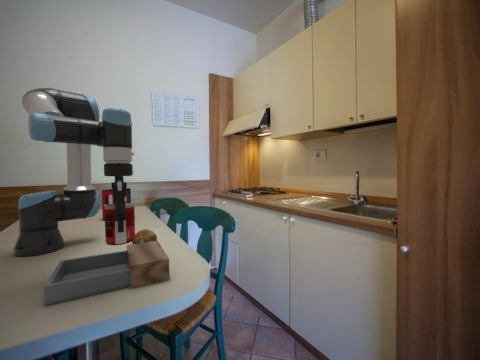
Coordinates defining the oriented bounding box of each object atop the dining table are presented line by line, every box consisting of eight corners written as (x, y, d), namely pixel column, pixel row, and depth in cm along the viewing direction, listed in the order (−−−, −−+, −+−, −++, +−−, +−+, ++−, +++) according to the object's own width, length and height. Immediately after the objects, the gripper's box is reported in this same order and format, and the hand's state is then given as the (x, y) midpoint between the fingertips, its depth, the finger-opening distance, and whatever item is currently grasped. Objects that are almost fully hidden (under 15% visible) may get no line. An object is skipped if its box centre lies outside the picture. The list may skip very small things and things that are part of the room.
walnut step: (130, 288, 61) (130, 265, 60) (127, 262, 78) (126, 245, 78) (169, 279, 66) (169, 258, 65) (157, 256, 83) (157, 240, 83)
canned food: (140, 237, 72) (139, 203, 71) (124, 246, 64) (123, 207, 63) (117, 237, 72) (116, 203, 72) (99, 245, 64) (98, 206, 64)
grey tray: (44, 305, 53) (44, 286, 53) (60, 275, 69) (60, 260, 68) (130, 286, 62) (130, 270, 61) (127, 263, 77) (127, 250, 77)
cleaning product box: (115, 221, 146) (114, 190, 145) (102, 220, 147) (101, 190, 146) (131, 216, 162) (130, 188, 161) (119, 216, 163) (118, 188, 162)
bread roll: (159, 250, 101) (163, 232, 104) (143, 247, 92) (149, 227, 95) (141, 248, 104) (146, 230, 107) (124, 245, 95) (130, 225, 98)
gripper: (135, 161, 60) (137, 246, 61) (130, 164, 78) (132, 230, 79) (101, 160, 56) (104, 251, 57) (105, 164, 75) (107, 233, 75)
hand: (120, 239), depth 68 cm, fingers closed on canned food, 8 cm apart
